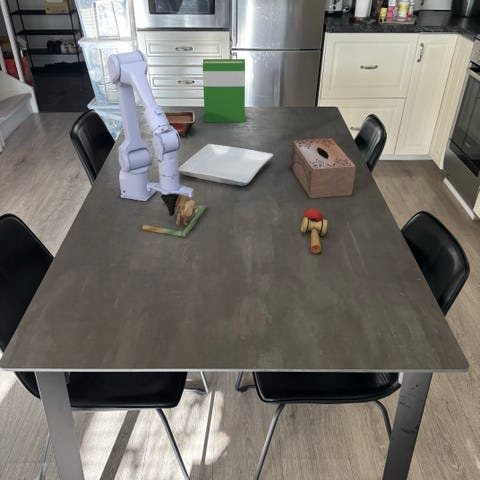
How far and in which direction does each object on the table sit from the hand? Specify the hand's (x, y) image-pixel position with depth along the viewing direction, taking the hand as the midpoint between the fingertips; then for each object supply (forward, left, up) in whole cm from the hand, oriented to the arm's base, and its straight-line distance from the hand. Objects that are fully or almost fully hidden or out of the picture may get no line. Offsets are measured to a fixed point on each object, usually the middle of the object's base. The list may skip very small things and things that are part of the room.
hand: (172, 214), depth 165 cm
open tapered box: (-29, +70, -2) cm, 76 cm away
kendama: (+44, +2, -2) cm, 44 cm away
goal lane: (+1, 0, -1) cm, 2 cm away
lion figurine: (+3, -1, -1) cm, 4 cm away
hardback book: (-15, +93, -2) cm, 94 cm away
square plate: (+4, +40, -2) cm, 40 cm away
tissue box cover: (+38, +42, -2) cm, 57 cm away
